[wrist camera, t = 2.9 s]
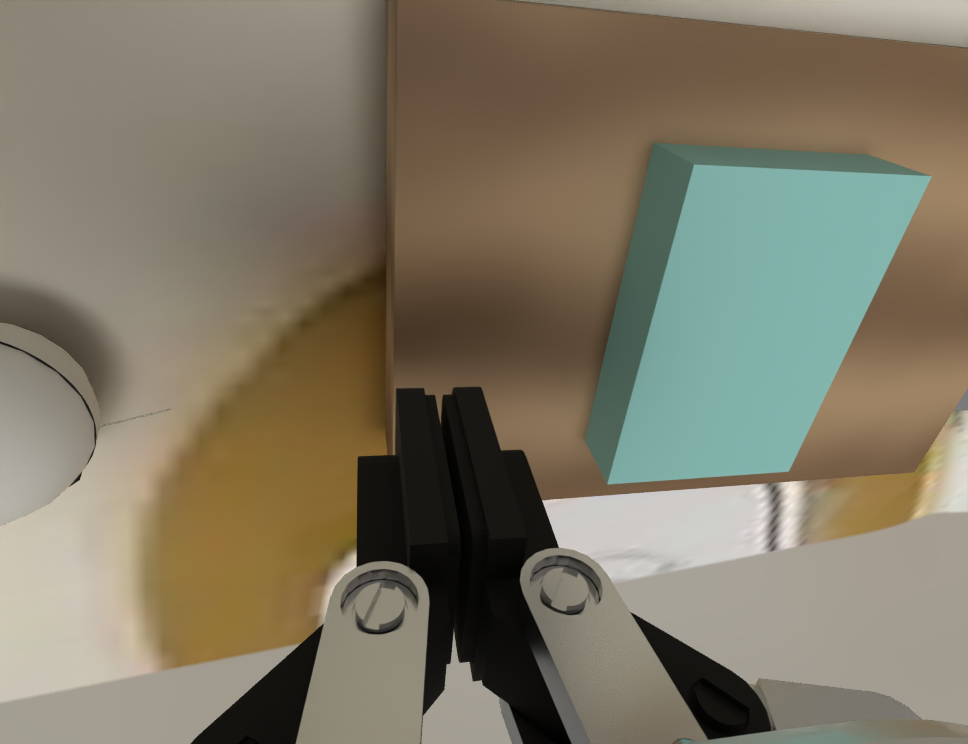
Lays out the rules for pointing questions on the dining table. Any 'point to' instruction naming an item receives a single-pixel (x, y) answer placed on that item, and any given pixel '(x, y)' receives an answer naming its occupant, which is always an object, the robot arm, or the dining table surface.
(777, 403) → the teal rectangular block
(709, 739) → the robot arm
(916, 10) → the dining table surface
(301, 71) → the dining table surface
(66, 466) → the white sphere
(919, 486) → the dining table surface
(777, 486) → the dining table surface
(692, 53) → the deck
